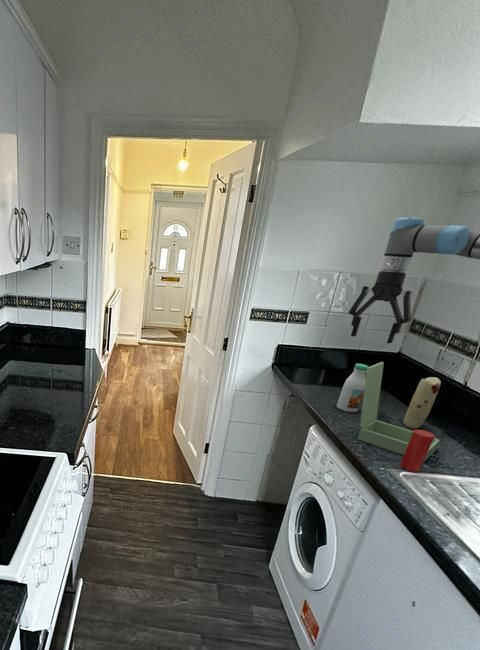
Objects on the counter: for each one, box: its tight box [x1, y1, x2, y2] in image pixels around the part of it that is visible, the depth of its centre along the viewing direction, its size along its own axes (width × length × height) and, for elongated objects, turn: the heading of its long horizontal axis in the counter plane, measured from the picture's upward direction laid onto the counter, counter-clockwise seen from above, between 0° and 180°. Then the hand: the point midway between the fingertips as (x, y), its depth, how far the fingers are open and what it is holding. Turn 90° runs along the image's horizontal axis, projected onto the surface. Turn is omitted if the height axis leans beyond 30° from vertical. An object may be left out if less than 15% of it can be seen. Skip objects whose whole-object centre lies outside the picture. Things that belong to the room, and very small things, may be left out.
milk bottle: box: [336, 363, 369, 413], centre depth 168 cm, size 8×8×20 cm
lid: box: [359, 361, 385, 428], centre depth 145 cm, size 21×14×1 cm
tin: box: [399, 429, 435, 473], centre depth 127 cm, size 5×5×12 cm
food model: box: [403, 376, 442, 430], centre depth 156 cm, size 10×7×20 cm
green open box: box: [356, 419, 441, 463], centre depth 142 cm, size 20×14×5 cm
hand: (370, 339), depth 141 cm, fingers open, 10 cm apart
